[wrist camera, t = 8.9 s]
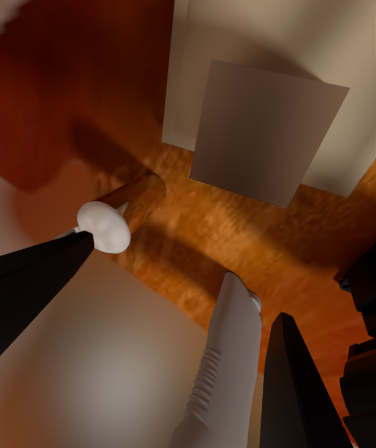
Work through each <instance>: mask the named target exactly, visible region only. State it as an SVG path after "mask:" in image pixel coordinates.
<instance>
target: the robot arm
mask: <svg viewBox="0 0 376 448" xmlns="http://www.w3.org/2000/svg"><path fill="white" fill-rule="evenodd" d="M94 246H95V244H94V236H93V234H92V233H91V232H88V231H81V232H77V233H74V234H71V235H68V236H64V237H61V238H58V239H54V240H51V241H48V242H45V243H41V244H39V245H35V246H32V247H28V248H25V249H22V250H18V251H15V252H12V253H9V254H5V255H2V256H0V356H1V355H2V353H3V352H4V351H5V350H6V349H7V348H8V347H9V346H10V345H11V344H12V342H13V341H14V340H15V339H16V338H17V337H18V336H19V335H20V334H21V333H22V332H23V331H24V329H25V328H26V327H27V326H28V325H29V324H30V323H31V322H32V321H33V320H34V318H36V316H37V315H38V314H39V313H40V312H41V311H42V310H43V309H44V308H45V307H46V305H47V304H48V303H49V302H50V301H51V300H52V299H53V298H54V297H55V296H56V294H58V292H59V291H60V290H61V289H62V288H63V287H64V286H65V285H66V284H67V283H68V282H69V280H70V279H71V278H72V277H73V276H74V275H75V274H76V272H77V271H78V270H79V268H80V267H81V266H82V264H83V263H84V262H85V260H86V259H87V258H88V256H89V255H90V254H91V252H92V251H93V249H94ZM345 285H346V286H345ZM339 286H340V288H341V289H342V290H344V291H347V292H350V293H351V294H352V297H353V301H354V304H355V307H356V310H357V311H358V312H361V313H362V316H363V320H364V323H365V326H366V329H367V332H368V335H369V336H371V337H374V339H371V340H368V341H366V342H363V343H360V344H354V345H351V346H350V347H349V353H348V361H347V362H346V363H345V368H344V374H343V375H344V377H341V378H340V387H341V393H342V397H343V400H344V403H345V406H346V409H347V411H348V414H349V416H345V417H343V421H344V423H345V425H346V426H347V428H348V430H349V431H350V433H351V434H352V436H353V438H354V439H355V441H356V443H357V445H358V447H359V448H376V243H375V244H374V245H373V246H372V247H371V248H370V250H369V251H368V252H367V253H366V254H364V255H362V256H361V257H360V258H359V259H358V261H357V262H356V263H355V264H354V265H353V266H352V267H351V268H350V269H349V270H348V271H347V272H346V275H345V276H344V277H343V279H342V280H341V281H340V282H339ZM259 448H353V446H352V444H351V441H350V439H349V437H348V435H347V433H346V431H345V428H344V427H343V426H342V422H341V420H340V418H339V416H338V413H337V411H336V409H335V407H334V405H333V403H332V401H331V398H330V396H329V394H328V392H327V390H326V388H325V385H324V383H323V381H322V379H321V377H320V375H319V372H318V370H317V368H316V366H315V364H314V362H313V359H312V357H311V355H310V353H309V351H308V349H307V346H306V344H305V342H304V340H303V338H302V336H301V333H300V331H299V329H298V327H297V325H296V323H295V320H294V318H293V317H292V316H291V315H289V314H287V313H284V312H281V313H280V314H279V315H278V317H277V318H276V319H275V321H274V322H273V324H272V327H271V333H270V338H269V344H268V349H267V354H266V360H265V369H264V383H263V399H262V415H261V430H260V447H259Z"/></svg>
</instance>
